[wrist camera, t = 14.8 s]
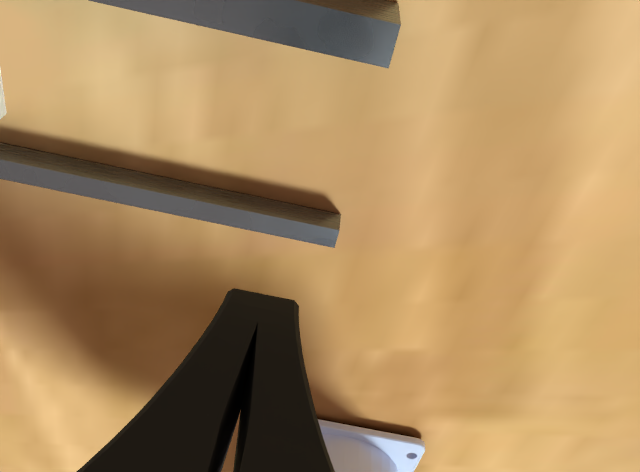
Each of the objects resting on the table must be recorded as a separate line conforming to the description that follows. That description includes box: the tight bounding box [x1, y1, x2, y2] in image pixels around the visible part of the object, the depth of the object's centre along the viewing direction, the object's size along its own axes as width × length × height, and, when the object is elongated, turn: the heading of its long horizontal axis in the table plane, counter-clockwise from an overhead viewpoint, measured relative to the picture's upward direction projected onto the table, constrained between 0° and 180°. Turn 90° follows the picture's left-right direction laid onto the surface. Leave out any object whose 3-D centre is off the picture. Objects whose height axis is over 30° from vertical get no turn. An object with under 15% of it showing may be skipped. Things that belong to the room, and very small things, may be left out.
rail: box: [0, 0, 401, 248], centre depth 18 cm, size 8×17×3 cm, turn 79°
